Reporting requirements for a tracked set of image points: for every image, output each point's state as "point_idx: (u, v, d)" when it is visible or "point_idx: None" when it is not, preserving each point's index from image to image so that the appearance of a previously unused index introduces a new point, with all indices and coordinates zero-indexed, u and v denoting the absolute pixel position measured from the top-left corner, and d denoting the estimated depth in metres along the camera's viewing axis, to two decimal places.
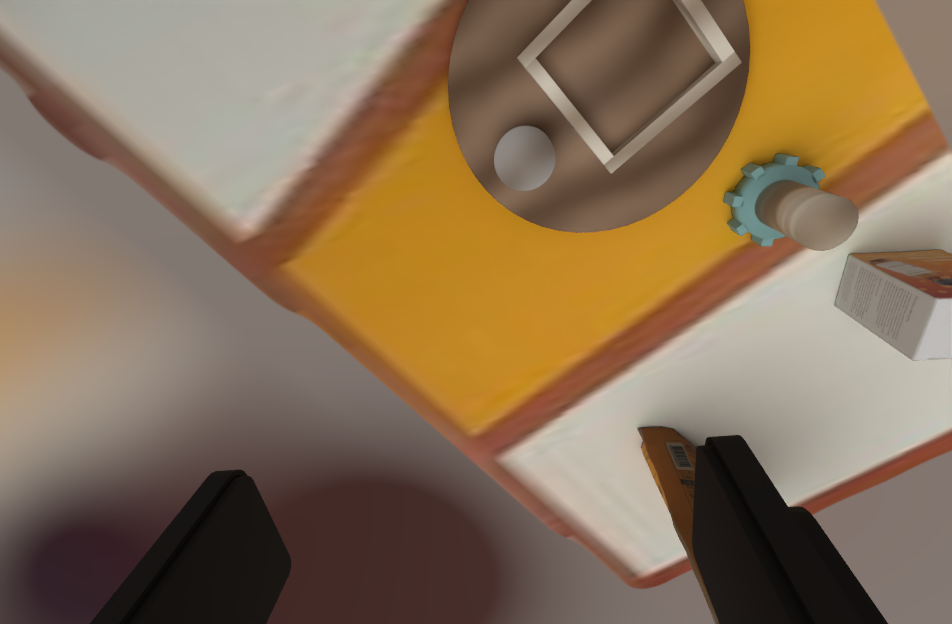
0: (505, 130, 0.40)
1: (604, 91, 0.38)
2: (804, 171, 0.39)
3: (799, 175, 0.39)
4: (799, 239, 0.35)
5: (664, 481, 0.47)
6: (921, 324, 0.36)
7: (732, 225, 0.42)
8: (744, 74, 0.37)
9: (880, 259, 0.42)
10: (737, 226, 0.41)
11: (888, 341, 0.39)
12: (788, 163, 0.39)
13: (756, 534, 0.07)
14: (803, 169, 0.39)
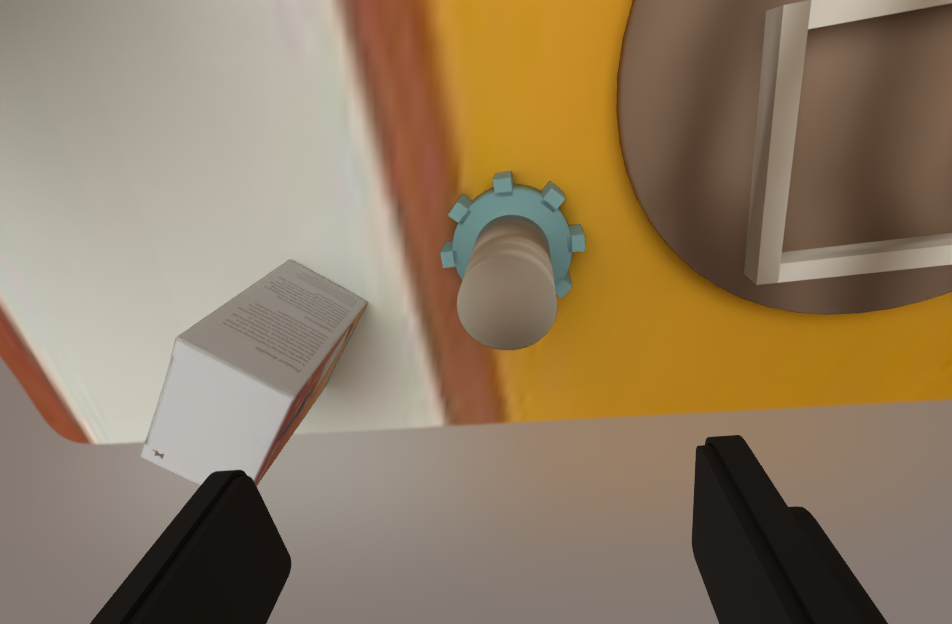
0: None
1: (888, 80, 0.20)
2: None
3: None
4: (505, 258, 0.18)
5: None
6: (249, 366, 0.20)
7: (511, 176, 0.24)
8: (718, 280, 0.25)
9: (348, 334, 0.28)
10: (511, 181, 0.23)
11: (219, 311, 0.22)
12: (562, 283, 0.25)
13: (756, 534, 0.07)
14: None
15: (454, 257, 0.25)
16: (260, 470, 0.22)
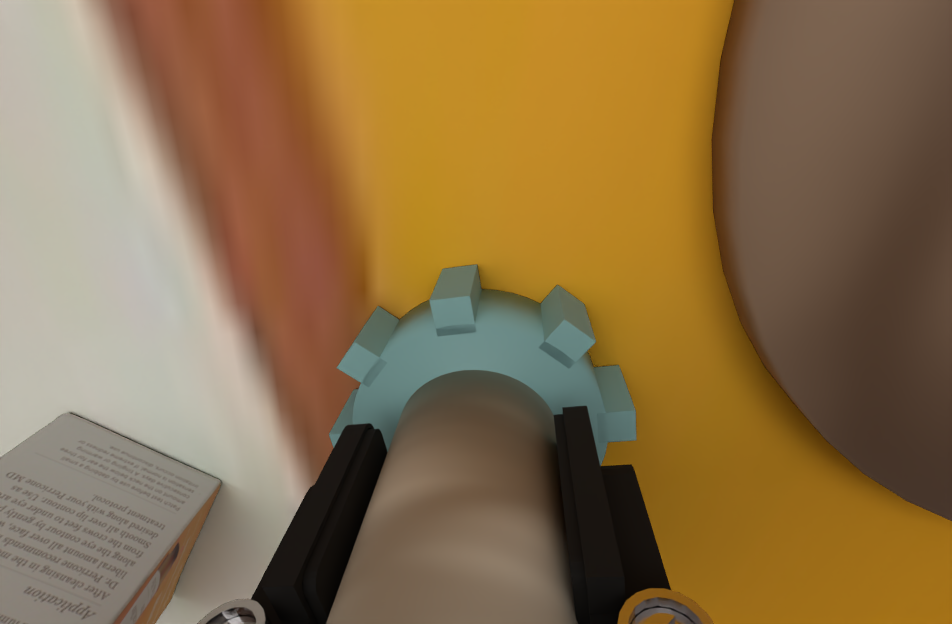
0: None
1: None
2: None
3: None
4: None
5: None
6: None
7: (474, 284, 0.11)
8: (911, 491, 0.12)
9: (176, 556, 0.15)
10: (472, 302, 0.10)
11: None
12: None
13: (568, 480, 0.08)
14: None
15: None
16: None
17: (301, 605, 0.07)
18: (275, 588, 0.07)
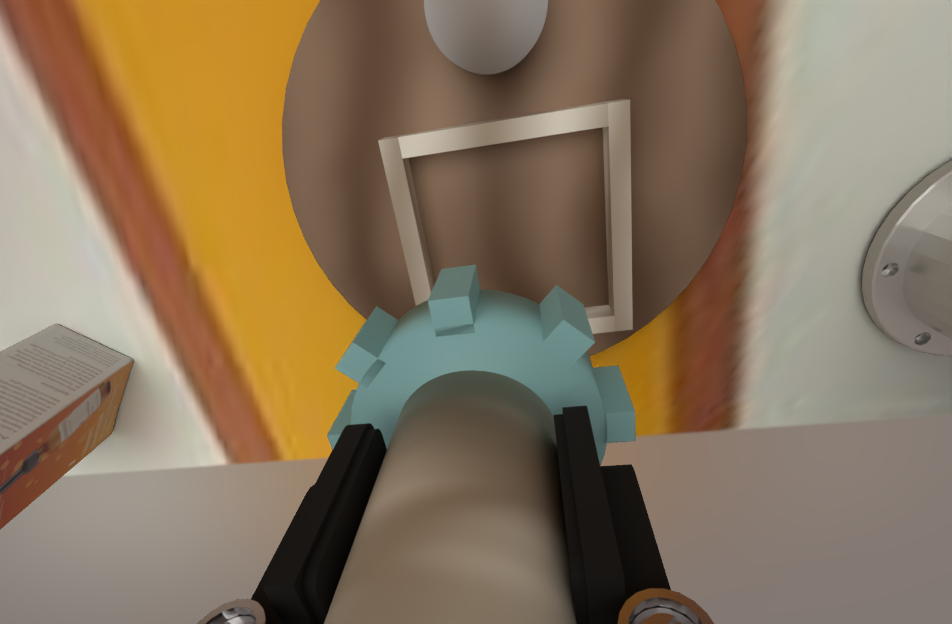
0: None
1: (495, 192, 0.25)
2: None
3: None
4: None
5: None
6: None
7: (472, 284, 0.11)
8: None
9: (109, 390, 0.31)
10: (471, 302, 0.10)
11: None
12: None
13: (568, 480, 0.08)
14: None
15: None
16: None
17: (301, 605, 0.07)
18: (275, 588, 0.07)
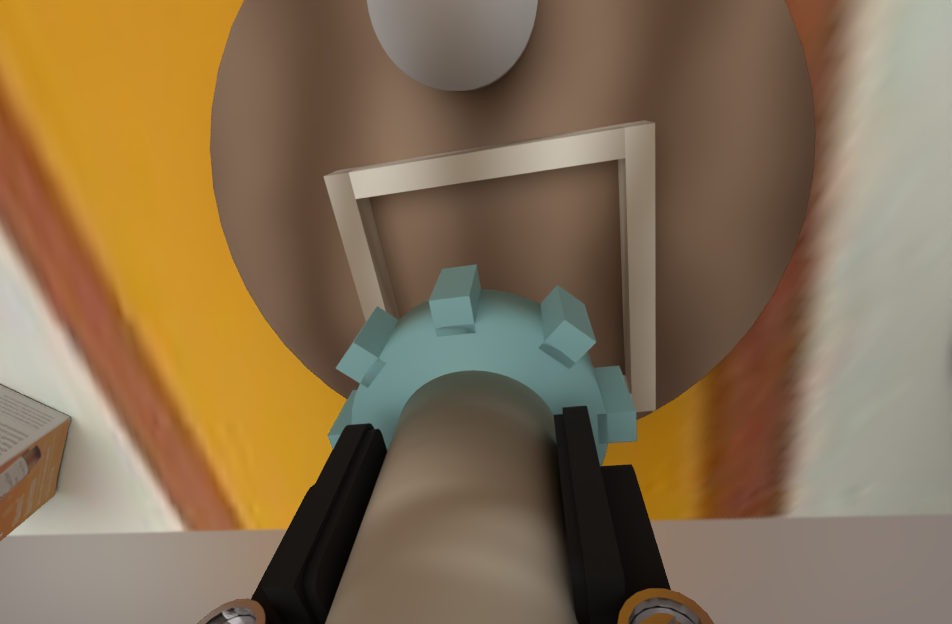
0: (540, 1, 0.16)
1: (479, 237, 0.19)
2: None
3: None
4: None
5: None
6: None
7: (473, 284, 0.11)
8: None
9: (39, 455, 0.27)
10: (471, 302, 0.10)
11: None
12: None
13: (568, 480, 0.08)
14: None
15: None
16: None
17: (301, 605, 0.07)
18: (275, 588, 0.07)
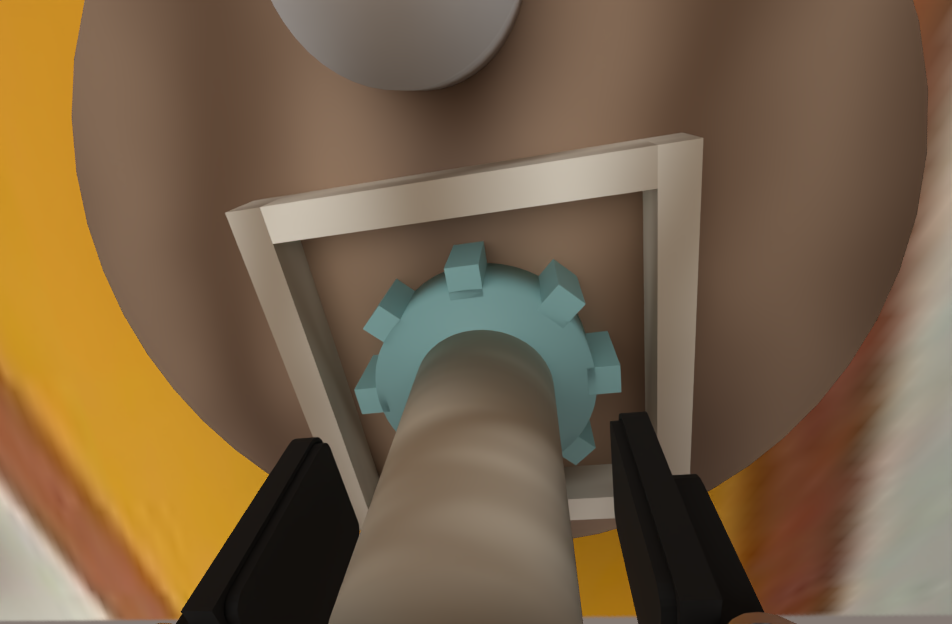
0: None
1: None
2: None
3: None
4: (445, 563, 0.06)
5: None
6: None
7: (481, 256, 0.13)
8: None
9: None
10: (480, 270, 0.12)
11: None
12: (577, 443, 0.14)
13: (639, 492, 0.07)
14: None
15: (380, 397, 0.14)
16: None
17: None
18: (194, 612, 0.07)
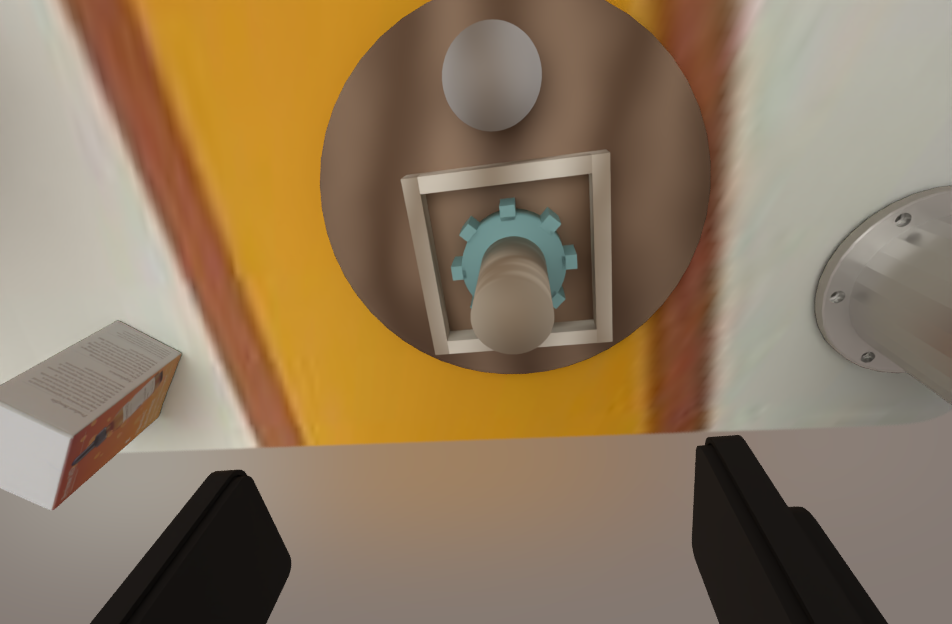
0: (541, 75, 0.26)
1: None
2: None
3: None
4: (512, 278, 0.21)
5: None
6: (39, 414, 0.28)
7: (514, 202, 0.28)
8: (422, 348, 0.34)
9: (161, 379, 0.36)
10: (515, 207, 0.27)
11: (29, 371, 0.30)
12: (557, 296, 0.29)
13: (756, 534, 0.07)
14: None
15: (463, 271, 0.29)
16: (60, 486, 0.30)
17: None
18: None
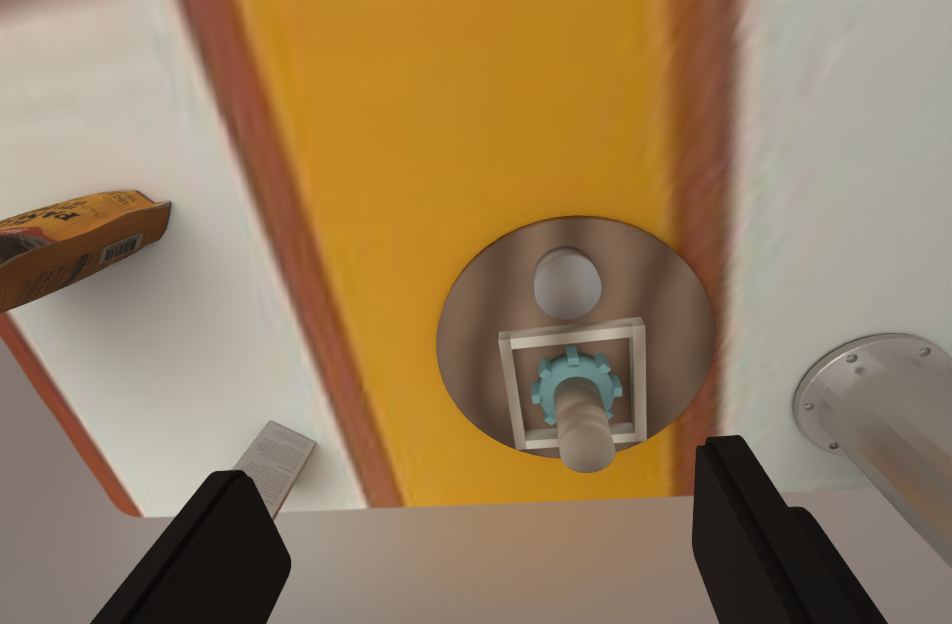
0: None
1: None
2: None
3: None
4: (588, 429, 0.33)
5: (89, 236, 0.32)
6: None
7: (577, 352, 0.40)
8: (503, 441, 0.46)
9: (304, 464, 0.49)
10: (578, 358, 0.39)
11: None
12: (607, 413, 0.41)
13: (756, 534, 0.07)
14: None
15: (540, 398, 0.41)
16: None
17: None
18: None
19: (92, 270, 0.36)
